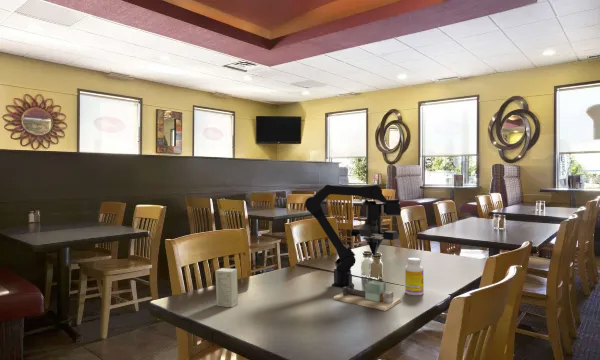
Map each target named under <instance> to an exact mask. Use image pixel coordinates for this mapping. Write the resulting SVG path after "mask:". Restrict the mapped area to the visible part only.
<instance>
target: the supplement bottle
mask: <svg viewBox="0 0 600 360" xmlns="http://www.w3.org/2000/svg"><path fill="white" fill-rule="evenodd" d="M421 261H422V260H421V258H418V257H408V258H407V264H406V265H405V267H404V290H405V291H404V292H405V294H407V295H409V296H422V295H423V294H424V267H423V266H422V265H421Z"/></svg>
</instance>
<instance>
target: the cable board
mask: <svg viewBox="0 0 600 360" xmlns="http://www.w3.org/2000/svg"><path fill="white" fill-rule="evenodd" d="M333 300H335V301H340V302H344V303H350V304H354V305H359V306H363V307H367V308H372V309H376V310H380V311H384V312H386V311H387V310H390V309H391V308H392V307H395V305H398V304H399V303H401V301H402V298H399V297H395V296H394V291H390V290H386V292H384V293H383V294H382V295H381V294H380V301H379V302H377V301H372V300H368V299H365V290H362V289H361V290H360V289H356V288H355V284H354V283H353V284H350V286H349V287H342V291H341V293H339V294H338V293H337V294H336V295H334V296H333Z"/></svg>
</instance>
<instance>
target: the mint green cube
mask: <svg viewBox="0 0 600 360" xmlns="http://www.w3.org/2000/svg"><path fill="white" fill-rule="evenodd" d="M386 288H387V287H386V282H383V281H378V280H374V279H373V280H370V281H368V282H365V284H364V291H365V299H368V300H372V301H377V302H379V301H380V294H381V295H382V294H383V293H384V292H386V291H387V290H386Z"/></svg>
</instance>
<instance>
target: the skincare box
mask: <svg viewBox="0 0 600 360" xmlns="http://www.w3.org/2000/svg"><path fill="white" fill-rule="evenodd" d="M215 289H216V293H215V294H216V295H215V296H216V306H217V307H227V308H233V307H235V306H236V305H238V303H239V299H238V298H239V297H238V296H239V295H238V294H239V293H238V268H227V267H221V268H218V269H217V270H215Z"/></svg>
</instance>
